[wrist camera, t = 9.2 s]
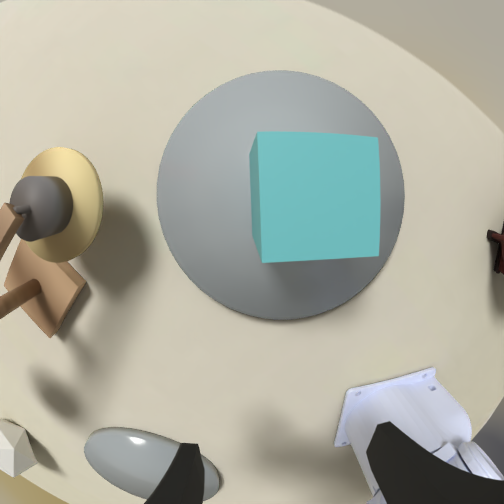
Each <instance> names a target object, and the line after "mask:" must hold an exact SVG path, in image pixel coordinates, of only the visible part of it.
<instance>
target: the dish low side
mask: <svg viewBox="0 0 504 504" xmlns="http://www.w3.org/2000/svg"><path fill="white" fill-rule="evenodd" d="M268 131H280V132H317V133H334V134H347V135H359V136H368V137H377V138H378V145H379V162H380V242H379V256H373V257H357V258H341V259H324V260H307V261H289V262H270V263H262V262H261V259H260V256H259V253H258V250H257V248H256V245H255V242H254V239H253V236H252V216H251V191H250V165H249V153H250V150H251V148H252V145H253V142H254V139H255V136H256V133H257V132H268ZM404 198H405V195H404V180H403V174H402V169H401V165H400V161H399V158H398V155H397V152H396V149H395V147H394V145H393V143H392V141H391V139H390V136H389V135H388V133H387V132H386V130H385V128H384V127H383V125H382V124H381V122H380V121H379V120H378V118H377V117H376V116H375V115H374V114H373V112H372V111H371V110H370V109H369V108H368V107H367V106H366V105H365V104H364V103H363V102H362V101H360V100H359V99H358V98H357V97H355V96H354V95H353V94H351V93H350V92H349V91H347V90H345V89H344V88H342V87H340V86H338V85H336V84H335V83H333V82H330V81H328V80H325V79H323V78H320V77H318V76H314V75H310V74H306V73H302V72H294V71H264V72H258V73H252V74H248V75H245V76H242V77H239V78H235V79H233V80H231V81H229V82H227V83H225V84H222V85H220V86H219V87H217V88H216V89H214V90H212V91H211V92H209V93H208V94H206V95H205V96H204V97H203V98H202V99H200V100H199V101H198V102H197V103H196V104H195V105H193V106H192V108H191V109H190V110H189V111H188V112H187V113H186V114H185V116H184V117H183V118H182V119H181V121H180V122H179V124H178V125H177V127H176V128H175V130H174V131H173V133H172V135H171V137H170V139H169V141H168V143H167V145H166V148H165V150H164V153H163V157H162V160H161V163H160V167H159V173H158V180H157V207H158V215H159V220H160V224H161V228H162V231H163V235H164V237H165V240H166V242H167V244H168V247H169V249H170V251H171V253H172V255H173V256H174V258H175V260H176V261H177V263H178V265H179V266H180V267H181V269H182V270H183V271H184V273H185V274H186V275H187V276H188V278H189V279H190V280H191V281H192V282H193V283H194V284H195V285H196V286H198V287H199V288H200V289H201V290H202V291H203V292H204V293H206V294H207V295H209V296H210V297H211V298H213V299H214V300H216V301H217V302H219V303H221V304H223V305H225V306H226V307H228V308H230V309H233V310H235V311H238V312H241V313H243V314H247V315H251V316H255V317H259V318H266V319H275V320H282V319H297V318H304V317H309V316H313V315H316V314H320V313H323V312H325V311H328V310H330V309H333V308H335V307H337V306H339V305H340V304H342V303H344V302H346V301H347V300H349V299H351V298H352V297H353V296H355V295H356V294H357V293H358V292H360V291H361V290H362V289H363V288H364V287H365V286H366V285H367V284H368V283H369V282H370V281H372V280H373V278H374V277H375V276H376V275H377V273H378V272H379V271H380V270H381V268H382V267H383V265H384V264H385V262H386V260H387V259H388V257H389V256H390V254H391V251H392V249H393V247H394V245H395V243H396V240H397V237H398V234H399V231H400V228H401V223H402V218H403V212H404Z"/></svg>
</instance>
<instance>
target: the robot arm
mask: <svg viewBox="0 0 504 504" xmlns="http://www.w3.org/2000/svg"><path fill="white" fill-rule="evenodd" d="M435 373H436V369H435V368H434V367H431V368H428V369H425V370H422V371H419V372H415V373H412V374H408V375H405V376H401V377H398V378H394V379H390V380H386V381H382V382H378V383H374V384H369V385H365V386H360V387H355V388H351V389H349V390H348V391H347V392H346V395H345V399H344V404H343V408H342V413H341V417H340V421H339V425H338V429H337V433H336V437H335V441H334V446H335V447H341V446H346V445H350V444H351V446H352V448H353V451H354V453H355V455H356V458H357V460H358V462H359V465H360V467H361V469H362V472H363V474H364V476H365V479H366V481H367V483H368V486H369V488H370V491H371V493H372V495H373V498H372V499H370V500H369V501H367V502H366V503H367V504H504V477H503V475H502V474H501V473H500V471H499V470H498V469H497V467H496V466H495V464H494V463H493V462H492V461H491V459H490V458H489V457H488V456H487V455H486V454H485V452H484V451H483V450H482V449H481V448H480V447H479V446H478V445H477V444H476V443H474V442H470V440H471V435H472V428H471V422H470V419H469V416H468V414H467V413H466V411H465V410H464V408H463V407H462V406H461V405H460V404H459V403H458V402H457V401H456V400H455V399H454V398H453V396H452V395H451V394H450V393H449V392H448V391H447V390H446V389H445V388H444V387H443V386H442V385H441V384H440V383H439V382H438V380H437V379H436V378H435V377H434V376H435ZM357 392H358V393H357ZM204 484H205V469H204V465H203V461H202V458H201V454H200V450H199V446H198V444H191V443H182V444H180V446H179V448H178V451H177V453H176V455H175V457H174V459H173V461H172V463H171V464H170V466H169V468H168V470H167V471H166V473H165V475H164V476H163V478H162V479H161V481H160V483H159V484H158V486H157V487H156V489H155V490H154V491H153V493H152V494H151V495H150V497H149V498H148V499H147V501H146V502H145V503H144V504H202V503H203V496H204Z"/></svg>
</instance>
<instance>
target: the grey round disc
mask: <svg viewBox="0 0 504 504" xmlns="http://www.w3.org/2000/svg"><path fill="white" fill-rule="evenodd" d="M180 444H181V443H179V442H176V441H174V440H171V439H169V438H166V437H163V436H160V435H157V434H153V433H150V432H146V431H141V430H136V429H131V428H122V427H108V428H102V429H99V430H96V431H94V432H93V433H92V434H91V435H90V436H89V438H88V440H87V442H86V444H85V447H84V453H85V456H86V459H87V461H88V462H89V464H90V465H91V466H92V468H93V469H94V470H95V471H96V472H97V473H98V474H99V475H101V476H102V477H103V478H104V479H106V480H107V481H108V482H110V483H111V484H113V485H114V486H116V487H118V488H120V489H122V490H124V491H126V492H128V493H130V494H133V495H135V496H138V497H141V498H144V499H148V498H149V497H150V495H151V494H152V493H153V491H154V490H155V489H156V487H157V486H158V484H159V483H160V481H161V479H162V478H163V476H164V475H165V473H166V471H167V470H168V468H169V466H170V464H171V463H172V461H173V459H174V457H175V455H176V453H177V451H178V448H179V446H180ZM201 458H202V461H203V465H204V469H205V484H204V496H203V501H205V500H208V499H210V498H211V497H213V496H214V495H215V494H216V493H217V491H218V488H219V474H218V471H217V469H216V468H215V466H214V465H213V464H212V463H211V462H210V461H209V460H208V459H206V458H205V457H204V456H203V455H201Z"/></svg>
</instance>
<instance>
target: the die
mask: <svg viewBox="0 0 504 504" xmlns="http://www.w3.org/2000/svg"><path fill="white" fill-rule="evenodd" d="M35 464H37V461H36V458H35V456H34V453H33V450H32V448H31V445H30V442H29V439H28V436H27V433H26V430H25V428H23V427H20V426H18V425H16V424H14V423H11V422H9V421H7V420H5V419H0V470H2V471H4V472H5V473H7V474H9V475H10V476H12V477H15V476H17V475H19V474H21V473H22V472H24V471H26V470H27V469H29V468H31V467H32V466H34V465H35Z"/></svg>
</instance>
